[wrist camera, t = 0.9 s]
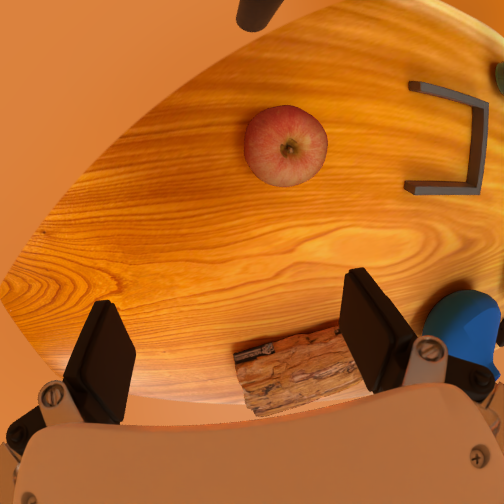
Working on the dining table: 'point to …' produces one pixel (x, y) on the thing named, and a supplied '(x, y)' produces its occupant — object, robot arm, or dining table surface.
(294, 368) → the petrified wood
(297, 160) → the apple
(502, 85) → the beverage bottle
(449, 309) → the vase
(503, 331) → the electronic device
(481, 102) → the bay
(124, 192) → the dining table surface
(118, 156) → the dining table surface
